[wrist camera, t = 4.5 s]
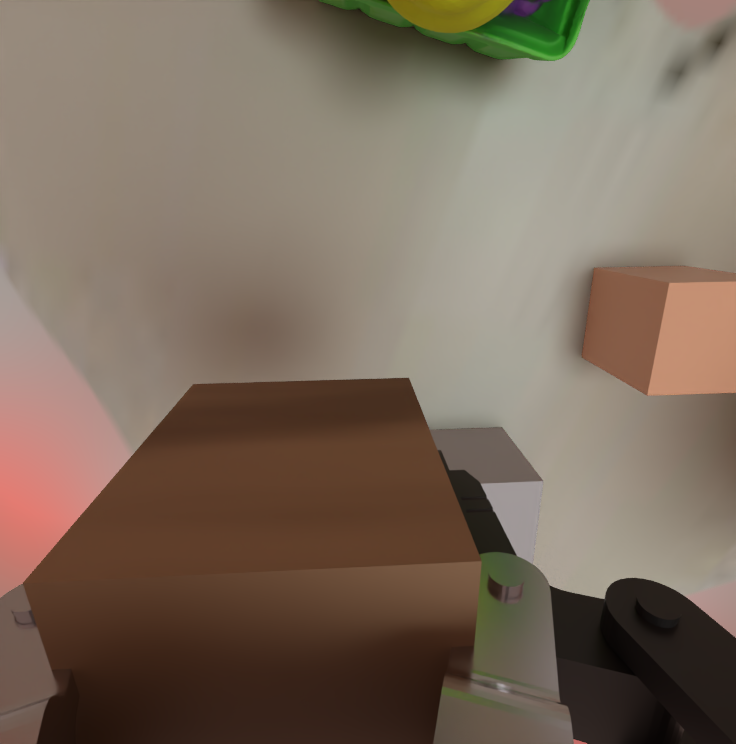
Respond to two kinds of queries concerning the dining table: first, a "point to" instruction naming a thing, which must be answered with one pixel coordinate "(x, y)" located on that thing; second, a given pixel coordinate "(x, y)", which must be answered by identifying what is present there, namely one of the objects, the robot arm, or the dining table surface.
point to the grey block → (498, 479)
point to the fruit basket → (486, 23)
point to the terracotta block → (664, 328)
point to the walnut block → (266, 574)
